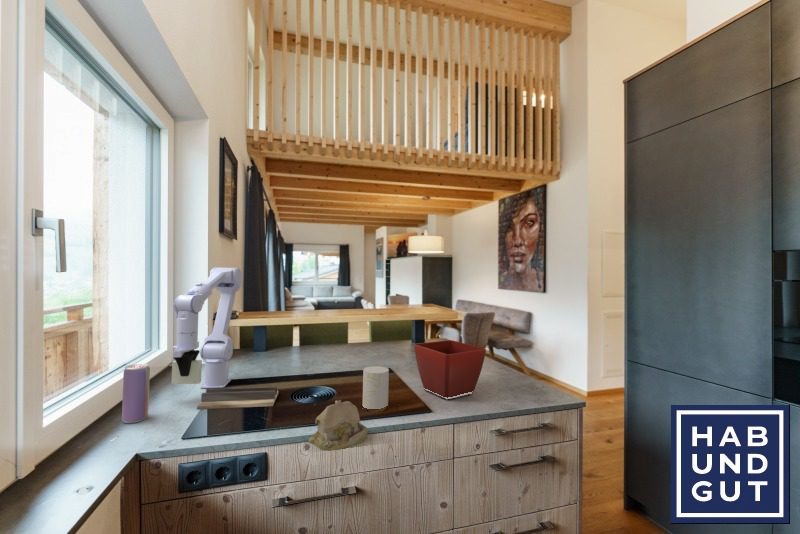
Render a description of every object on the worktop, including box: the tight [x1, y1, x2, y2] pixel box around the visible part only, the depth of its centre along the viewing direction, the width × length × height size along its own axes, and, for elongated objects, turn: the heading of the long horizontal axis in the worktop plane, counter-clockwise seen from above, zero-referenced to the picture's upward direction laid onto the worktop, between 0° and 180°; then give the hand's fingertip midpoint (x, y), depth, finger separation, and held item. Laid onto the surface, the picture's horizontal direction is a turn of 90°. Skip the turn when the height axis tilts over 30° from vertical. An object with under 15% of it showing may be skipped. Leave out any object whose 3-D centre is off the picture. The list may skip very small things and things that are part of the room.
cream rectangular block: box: [171, 359, 203, 385], centre depth 114 cm, size 2×8×7 cm, turn 100°
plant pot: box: [413, 339, 487, 398], centre depth 130 cm, size 19×19×17 cm
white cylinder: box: [362, 365, 390, 409], centre depth 114 cm, size 8×8×12 cm
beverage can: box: [121, 363, 151, 424], centre depth 101 cm, size 6×6×15 cm
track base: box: [196, 386, 279, 410], centre depth 117 cm, size 12×22×4 cm, turn 101°
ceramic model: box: [308, 399, 368, 451], centre depth 92 cm, size 14×11×10 cm
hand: (186, 374), depth 114 cm, fingers closed on cream rectangular block, 2 cm apart
